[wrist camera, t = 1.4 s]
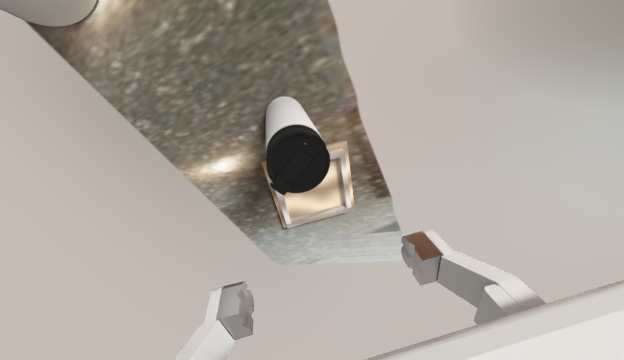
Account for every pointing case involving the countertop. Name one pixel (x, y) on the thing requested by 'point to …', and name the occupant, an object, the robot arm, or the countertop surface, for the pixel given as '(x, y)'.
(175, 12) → the countertop surface
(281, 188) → the travel mug
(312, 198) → the square metal tray
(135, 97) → the countertop surface
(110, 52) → the countertop surface
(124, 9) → the countertop surface
